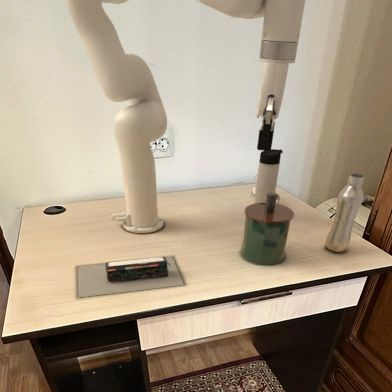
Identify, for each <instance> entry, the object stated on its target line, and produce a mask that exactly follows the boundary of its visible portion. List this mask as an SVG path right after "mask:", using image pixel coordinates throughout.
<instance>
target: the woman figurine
mask: <svg viewBox="0 0 392 392" xmlns="http://www.w3.org/2000/svg"><path fill="white" fill-rule="evenodd" d="M255 192H256V185H254V186H253V188H252V194H250V195H249V196H248V197H249V198H252V197H253V196H255ZM276 193H277V199H276V204H280V202H281V197H280V195H279V192H276Z"/></svg>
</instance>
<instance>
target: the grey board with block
mask: <svg viewBox="0 0 392 392" xmlns="http://www.w3.org/2000/svg"><path fill="white" fill-rule="evenodd" d="M184 285H185V284H184V282H183V279H182V277H181V275H180V272H179V270H178V267H177V265H176V263H175V260H174V258H173V256H169V257H166V256H156V257H154V256H153V257H144V258H136V259H126V260H115V261H108V262H105V263H101V264H91V265H83V266H82V265H81V266H77V289H78V290H77V292H78V293H77V294H78V298H86V297H93V296H101V295H102V296H103V295H112V294H119V293H128V292H135V291H136V292H137V291H145V290H151V289H152V290H153V289H161V288H162V289H163V288H168V287H169V288H170V287H178V286H184Z"/></svg>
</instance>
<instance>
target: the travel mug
mask: <svg viewBox="0 0 392 392" xmlns="http://www.w3.org/2000/svg"><path fill="white" fill-rule="evenodd" d="M283 153H284V151H283V149H280V148H279V149H275V148H274V149H273V148H271V150H270V151H264V150H261V151H260V153H259V154H260V155H259V161H258V168H257V174H256V175H257V177H256V183H255V186H256V192H255V195H254V200H253V204H255V203H265V202H266V195H267V192H275V193H276V190H277V183H278V179H279V178H278V177H279V171H280V165H281V156H282V154H283Z"/></svg>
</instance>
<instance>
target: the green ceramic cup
mask: <svg viewBox="0 0 392 392" xmlns="http://www.w3.org/2000/svg"><path fill="white" fill-rule="evenodd" d="M291 222H292V220H291V221H288V222H285V223H280V224H267V223H261V222H257V221H254V220H251V219H250V218H248V217H247V216H246V215H245V216H244V227H243V234H242V244H241V257H242V258H243V259H244V260H245V261H247V262H250V263H251V264H255V265H259V266H260V265H261V266H272V265H276V264H278V263H280V262H282V261H283V259H284V257H285V254H286V253H285V252H286V248H287V242H288V237H289V233H290V232H289V231H290V228H291V227H290V226H291Z"/></svg>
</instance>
